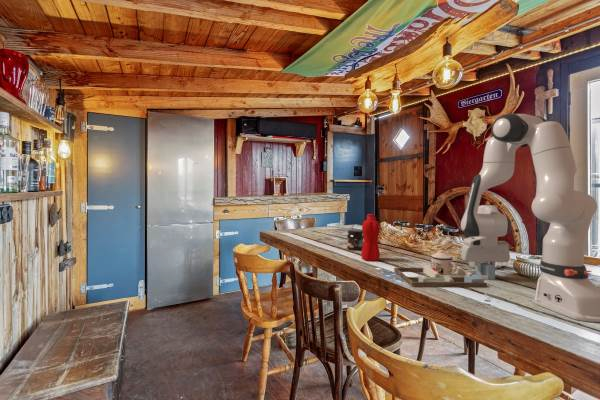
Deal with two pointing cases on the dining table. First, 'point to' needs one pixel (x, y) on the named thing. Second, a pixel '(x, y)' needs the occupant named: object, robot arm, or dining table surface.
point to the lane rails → (414, 283)
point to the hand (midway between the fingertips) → (484, 271)
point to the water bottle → (370, 239)
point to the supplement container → (355, 239)
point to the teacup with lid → (442, 263)
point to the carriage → (467, 271)
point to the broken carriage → (450, 279)
